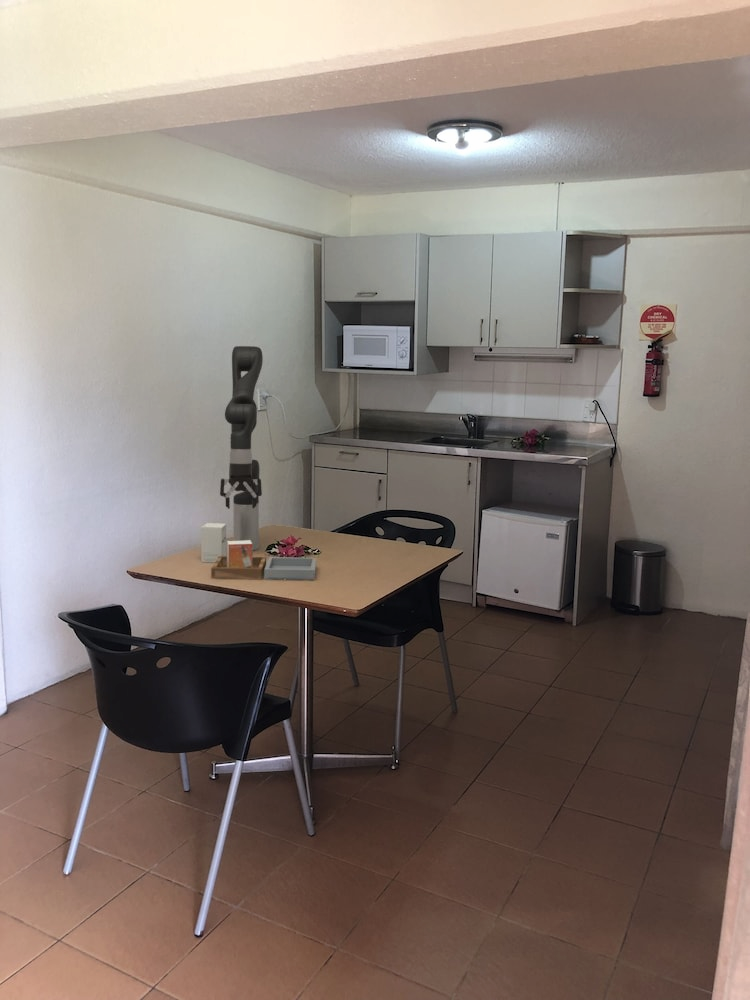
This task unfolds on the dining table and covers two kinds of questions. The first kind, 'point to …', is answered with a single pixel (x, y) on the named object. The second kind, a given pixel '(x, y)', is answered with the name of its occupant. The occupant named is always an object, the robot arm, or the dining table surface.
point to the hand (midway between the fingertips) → (240, 508)
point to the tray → (290, 568)
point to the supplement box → (213, 541)
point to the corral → (238, 569)
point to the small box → (239, 554)
